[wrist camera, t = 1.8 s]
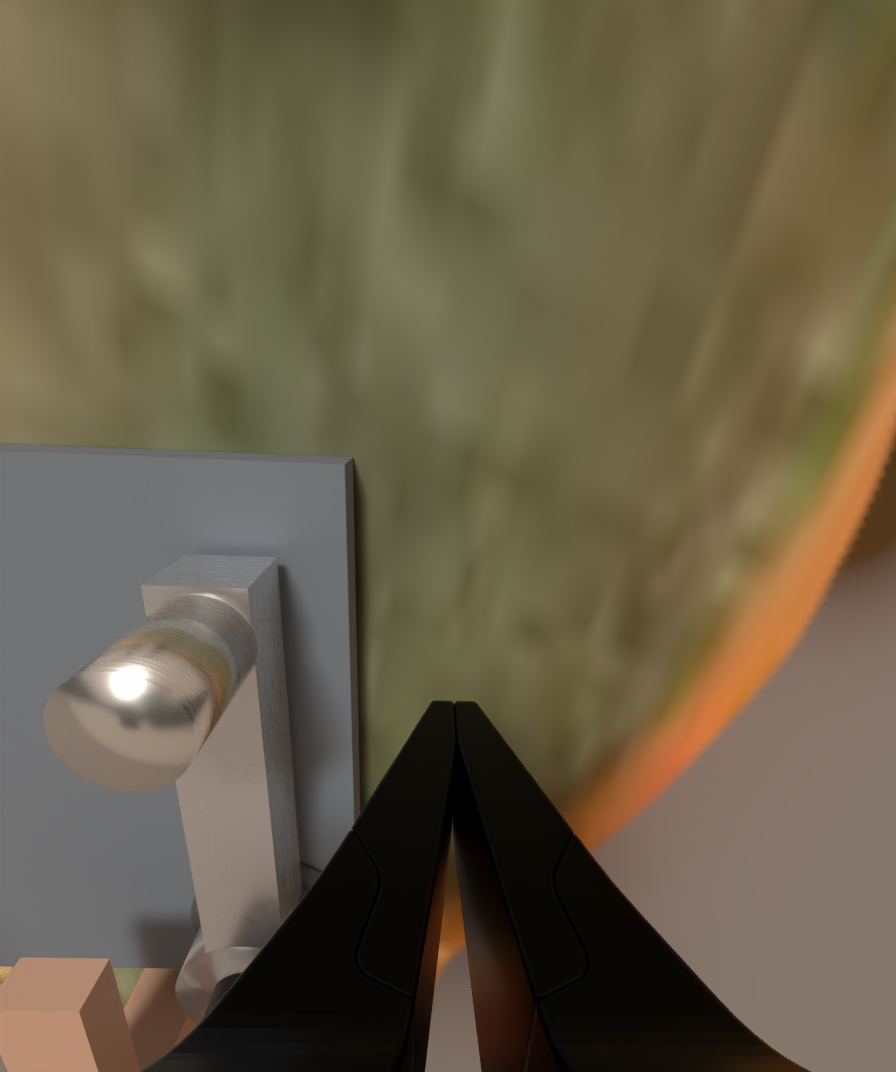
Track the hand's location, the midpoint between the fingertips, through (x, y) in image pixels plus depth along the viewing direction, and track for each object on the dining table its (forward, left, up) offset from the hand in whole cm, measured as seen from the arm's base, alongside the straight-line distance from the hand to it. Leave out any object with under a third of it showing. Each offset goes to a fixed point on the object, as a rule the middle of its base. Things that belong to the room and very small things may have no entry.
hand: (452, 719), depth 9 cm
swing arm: (-6, -7, -4) cm, 10 cm away
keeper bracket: (-11, -14, -6) cm, 19 cm away
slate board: (-12, -6, -6) cm, 15 cm away
